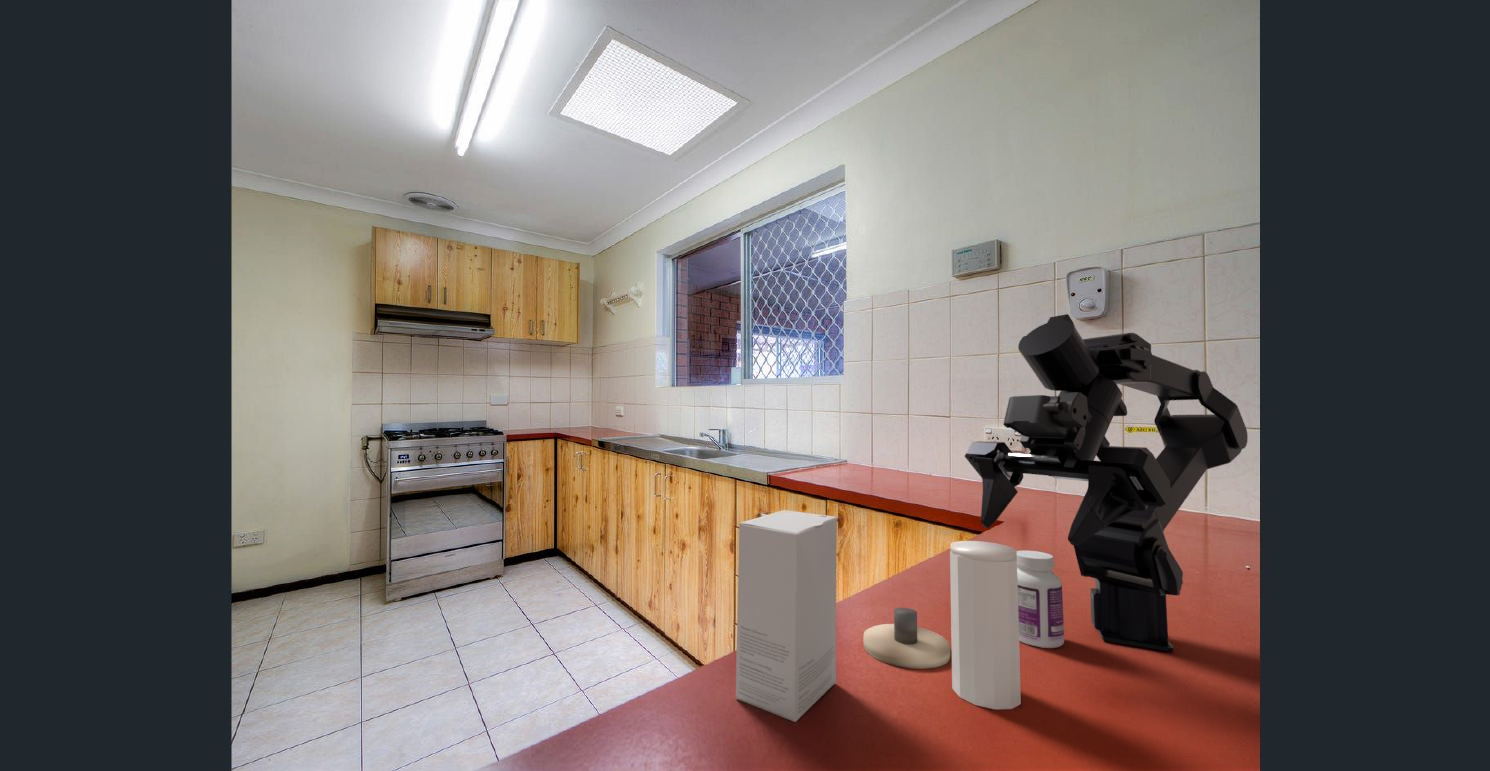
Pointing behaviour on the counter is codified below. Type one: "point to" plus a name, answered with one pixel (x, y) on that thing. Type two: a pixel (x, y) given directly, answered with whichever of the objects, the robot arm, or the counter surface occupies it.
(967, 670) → the white plastic canister
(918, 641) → the post base
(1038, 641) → the pill bottle
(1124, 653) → the counter surface
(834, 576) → the skincare box
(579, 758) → the counter surface
